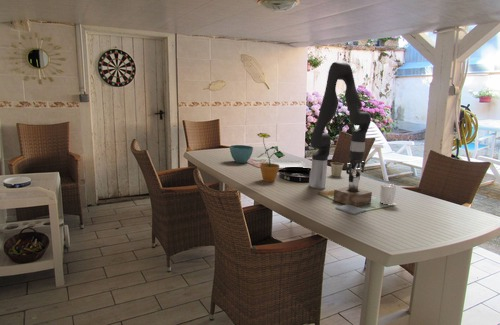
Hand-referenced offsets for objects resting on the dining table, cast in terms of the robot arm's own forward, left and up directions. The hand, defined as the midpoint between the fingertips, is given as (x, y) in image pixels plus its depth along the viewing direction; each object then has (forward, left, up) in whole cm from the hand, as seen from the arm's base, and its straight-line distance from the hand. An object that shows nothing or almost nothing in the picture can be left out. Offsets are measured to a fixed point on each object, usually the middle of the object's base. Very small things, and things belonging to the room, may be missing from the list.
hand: (354, 181), depth 203 cm
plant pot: (-115, +11, -12) cm, 116 cm away
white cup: (+12, +14, -12) cm, 22 cm away
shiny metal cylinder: (0, 0, -5) cm, 5 cm away
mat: (+9, -13, -11) cm, 20 cm away
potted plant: (-58, -9, -11) cm, 60 cm away
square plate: (-81, +29, -12) cm, 87 cm away
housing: (0, 0, -11) cm, 11 cm away
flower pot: (-46, +43, -12) cm, 64 cm away
